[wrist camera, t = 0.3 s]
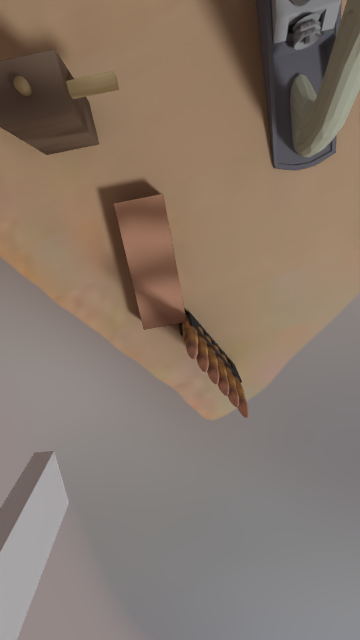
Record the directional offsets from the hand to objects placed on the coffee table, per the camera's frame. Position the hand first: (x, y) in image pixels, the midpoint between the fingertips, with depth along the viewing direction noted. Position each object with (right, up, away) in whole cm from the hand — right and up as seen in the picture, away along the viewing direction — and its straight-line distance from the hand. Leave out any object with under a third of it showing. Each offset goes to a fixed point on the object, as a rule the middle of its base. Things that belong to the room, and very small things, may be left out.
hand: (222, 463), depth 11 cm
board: (-5, +13, +24) cm, 27 cm away
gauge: (-12, +27, +19) cm, 35 cm away
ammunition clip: (+2, +3, +28) cm, 28 cm away
